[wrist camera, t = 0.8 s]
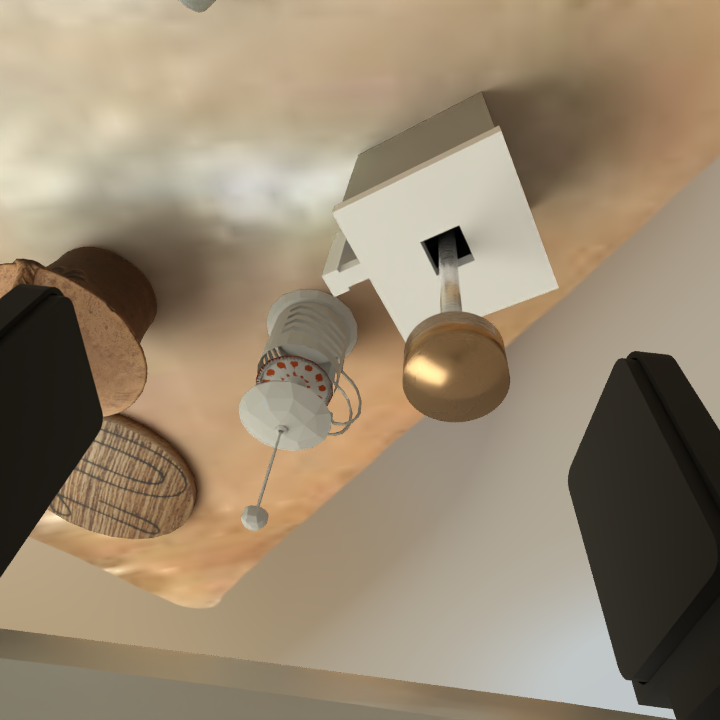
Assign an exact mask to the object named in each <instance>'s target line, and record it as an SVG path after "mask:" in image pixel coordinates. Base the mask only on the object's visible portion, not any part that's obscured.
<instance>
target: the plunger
mask: <svg viewBox="0 0 720 720" xmlns="http://www.w3.org/2000/svg"><path fill="white" fill-rule="evenodd" d="M438 244H439V277H440V310H441V313H439V314H436V315H433V316H431V317H429V318H427V319H425V320H423V321H422V322H421V323H419V324H418V325H417V326H416V327H415V328H414V329H413V330H412V332H411V333H410V335H409V337H408V338H407V341H406V344H405V349H404V365H403V389H404V393H405V395H406V397H407V399H408V400H409V402H410V403H411V404H412V405H413V406H414V408H416V409H417V410H418V411H419V412H421V413H423V414H424V415H426V416H428V417H431V418H433V419H436V420H440V421H447V422H464V421H470V420H474V419H477V418H480V417H482V416H484V415H487V414H488V413H490V412H491V411H493V410H494V409H495V408H496V407H498V406H499V405H500V404H501V402H502V401H503V400H504V398H505V397H506V395H507V393H508V390H509V385H510V375H509V369H508V364H507V358H506V353H505V348H504V342H503V339H502V337H501V335H500V333H499V331H498V330H497V329H496V327H495V326H494V325H493V324H491V323H490V322H489V321H487V320H486V319H484V318H482V317H481V316H478V315H476V314H472V313H468V312H462V304H461V293H460V282H459V271H458V260H457V249H456V237H455V227H454V228H452V229H449V230H447V231H445V232H443V233H440V234H438Z"/></svg>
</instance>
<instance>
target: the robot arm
mask: <svg viewBox="0 0 720 720" xmlns="http://www.w3.org/2000/svg"><path fill="white" fill-rule="evenodd" d="M102 423H103V412H102V408H101V405H100V401H99V397H98V394H97V390H96V386H95V383H94V379H93V375H92V371H91V368H90V364H89V360H88V357H87V353H86V349H85V346H84V342H83V338H82V335H81V331H80V327H79V324H78V320H77V316H76V313H75V309H74V305H73V303H72V301H71V300H70V298H68V297H65V296H64V295H63V293H62V292H61V290H60V289H58V288H56V287H50V286H41V285H32V284H19V285H17V286H15V287H14V288H13V289H11V290H10V291H9V292H8V293H6V294H5V295H4V296H3V297H1V298H0V577H1V576H2V574H3V573H4V571H5V570H6V568H7V567H8V565H9V564H10V563H11V561H12V560H13V558H14V557H15V555H16V554H17V552H18V551H19V549H20V548H21V546H22V545H23V543H24V542H25V540H26V539H27V538H28V536H29V535H30V533H31V532H32V530H33V529H34V527H35V526H36V524H37V523H38V522H39V520H40V519H41V517H42V516H43V514H44V513H45V511H46V510H47V508H48V507H49V505H50V504H51V503H52V501H53V500H54V498H55V497H56V495H57V494H58V492H59V491H60V489H61V488H62V486H63V485H64V483H65V482H66V481H67V479H68V478H69V476H70V475H71V473H72V472H73V470H74V469H75V467H76V466H77V464H78V463H79V462H80V460H81V459H82V457H83V456H84V454H85V453H86V451H87V450H88V448H89V447H90V445H91V444H92V443H93V441H94V440H95V438H96V437H97V435H98V434H99V432H100V430H101V427H102ZM568 486H569V491H570V495H571V498H572V501H573V506H574V509H575V513H576V516H577V520H578V524H579V527H580V531H581V534H582V538H583V542H584V545H585V549H586V553H587V555H588V560H589V564H590V567H591V571H592V574H593V578H594V582H595V585H596V589H597V592H598V596H599V600H600V603H601V607H602V611H603V614H604V618H605V621H606V625H607V629H608V632H609V636H610V640H611V643H612V647H613V650H614V654H615V657H616V661H617V665H618V668H619V670H620V673H621V675H622V676H623V677H624V678H625V679H626V680H632V684H633V687H634V691H635V694H636V698H637V701H638V704H639V705H646V706H653V707H661V708H669V709H673V711H674V714H675V717H676V720H720V430H719V429H718V427H717V425H716V424H715V422H714V421H713V419H712V418H711V416H710V414H709V413H708V411H707V410H706V408H705V406H704V405H703V403H702V402H701V400H700V399H699V397H698V395H697V394H696V392H695V391H694V389H693V388H692V386H691V384H690V383H689V381H688V379H687V378H686V376H685V375H684V373H683V372H682V370H681V368H680V367H679V365H678V364H677V362H676V360H675V359H674V358H673V357H672V356H670V355H666V354H657V353H647V352H639V351H634V352H631V353H630V354H629V355H628V356H627V358H626V359H623V358H621V359H618V360H617V362H616V363H615V365H614V367H613V369H612V371H611V374H610V376H609V378H608V381H607V383H606V385H605V388H604V390H603V392H602V395H601V397H600V399H599V402H598V404H597V406H596V409H595V411H594V413H593V415H592V418H591V420H590V422H589V425H588V427H587V429H586V432H585V435H584V436H583V439H582V441H581V443H580V446H579V448H578V451H577V453H576V456H575V457H574V460H573V462H572V465H571V467H570V470H569V475H568ZM0 720H673V719H667V718H661V717H654V716H647V715H640V714H635V713H628V712H622V711H615V710H609V709H602V708H596V707H589V706H583V705H576V704H570V703H563V702H556V701H548V700H540V699H534V698H526V697H518V696H511V695H503V694H496V693H489V692H481V691H475V690H467V689H459V688H452V687H445V686H438V685H430V684H423V683H416V682H408V681H401V680H394V679H386V678H379V677H371V676H363V675H357V674H349V673H341V672H334V671H326V670H318V669H311V668H303V667H295V666H288V665H280V664H273V663H265V662H257V661H250V660H242V659H235V658H226V657H219V656H212V655H204V654H195V653H188V652H181V651H173V650H165V649H157V648H150V647H142V646H135V645H127V644H118V643H111V642H103V641H94V640H87V639H79V638H71V637H63V636H55V635H47V634H39V633H31V632H23V631H15V630H7V629H0Z"/></svg>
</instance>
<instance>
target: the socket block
mask: <svg viewBox="0 0 720 720" xmlns="http://www.w3.org/2000/svg"><path fill="white" fill-rule="evenodd" d="M332 214H333V216H334V218H335V220H336V221H337V223H338V225H339V227H340V228H341V230H340V231H338V232H336V234H335V237H334V240H333V243H332V246H331V249H330V252H329V255H328V258H327V261H326V264H325V267H324V270H323V273H322V278H323V280H324V281H325V283H326V285H327V286H328V288H329V289H330V291H331V293H332V294H333V296H334V297H335V296H338V295H340V294H343V293H345V292H347V291H350V287H351V286H352V285H355V284H357V283H359V282H362V281H364V280H366V279H370V281H371V283H372V285H373V286H374V288H375V290H376V292H377V293H378V295H379V297H380V299H381V300H382V302H383V304H384V306H385V307H386V309H387V311H388V313H389V314H390V316H391V318H392V320H393V321H394V323H395V325H396V327H397V328H398V330H399V332H400V334H401V335H402V337H403V339H404V341H405V342H406V341H407V338H408V337H409V335H410V333H411V332H412V330H413V329H414V328H415V327H416V326H417V325H418V324H419V323H421V322H422V321H423V320H425V319H427V318H429V317H431V316H433V315H436V314H439V313H441V310H440V277H439V244H438V234H440V233H443V232H445V231H447V230H449V229H452V228H454V227H455V237H456V249H457V260H458V271H459V282H460V293H461V304H462V312H468V313H472V314H476V315H478V316H481V317H482V316H485V315H487V314H490V313H493V312H495V311H498V310H501V309H504V308H506V307H509V306H512V305H514V304H517V303H520V302H523V301H525V300H528V299H531V298H533V297H536V296H539V295H541V294H544V293H547V292H550V291H552V290H555V289H558V288H559V287H558V285H557V282H556V279H555V276H554V274H553V271H552V268H551V265H550V263H549V260H548V257H547V254H546V252H545V249H544V246H543V244H542V241H541V238H540V235H539V233H538V230H537V227H536V224H535V222H534V219H533V216H532V213H531V211H530V208H529V205H528V202H527V200H526V197H525V194H524V192H523V189H522V186H521V183H520V181H519V178H518V175H517V172H516V170H515V167H514V164H513V161H512V159H511V156H510V153H509V151H508V148H507V145H506V142H505V140H504V137H503V134H502V131H501V129H500V126H497V127H494V124H493V121H492V119H491V116H490V113H489V111H488V108H487V105H486V103H485V100H484V97H483V95H482V92H480V93H478V94H476V95H474V96H472V97H470V98H468V99H466V100H464V101H462V102H460V103H458V104H456V105H455V106H453V107H451V108H449V109H447V110H445V111H443V112H441V113H439V114H437V115H435V116H433V117H431V118H429V119H428V120H426V121H424V122H422V123H420V124H418V125H416V126H414V127H412V128H410V129H408V130H406V131H404V132H402V133H401V134H399V135H397V136H395V137H393V138H391V139H389V140H387V141H385V142H383V143H381V144H379V145H377V146H375V147H374V148H372V149H370V150H368V151H366V152H364V153H362V154H360V155H358V158H357V161H356V164H355V167H354V169H353V172H352V175H351V178H350V181H349V184H348V187H347V190H346V193H345V196H344V199H343V202H342V203H340V204H338V205H336V206H334V208H333V211H332Z"/></svg>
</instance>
